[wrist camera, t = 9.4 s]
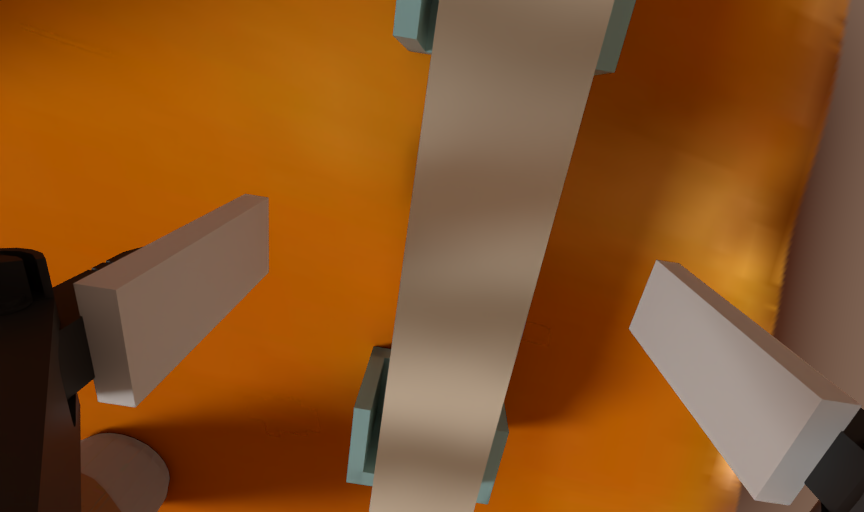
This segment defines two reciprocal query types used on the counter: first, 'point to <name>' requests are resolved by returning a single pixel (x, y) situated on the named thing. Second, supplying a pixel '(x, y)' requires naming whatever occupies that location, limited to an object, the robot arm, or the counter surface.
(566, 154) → the slat
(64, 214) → the counter surface
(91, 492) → the coffee cup
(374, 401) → the end caps
